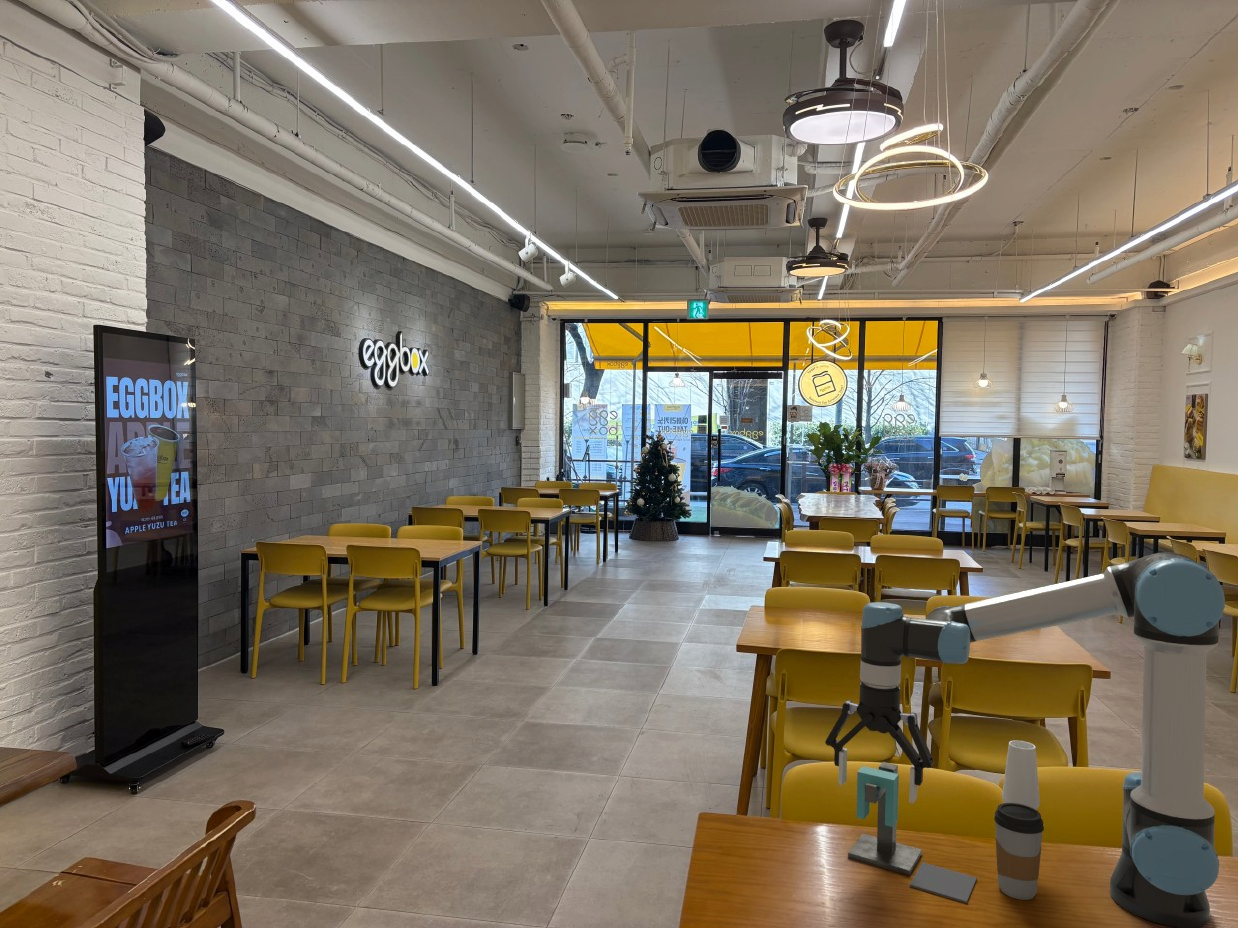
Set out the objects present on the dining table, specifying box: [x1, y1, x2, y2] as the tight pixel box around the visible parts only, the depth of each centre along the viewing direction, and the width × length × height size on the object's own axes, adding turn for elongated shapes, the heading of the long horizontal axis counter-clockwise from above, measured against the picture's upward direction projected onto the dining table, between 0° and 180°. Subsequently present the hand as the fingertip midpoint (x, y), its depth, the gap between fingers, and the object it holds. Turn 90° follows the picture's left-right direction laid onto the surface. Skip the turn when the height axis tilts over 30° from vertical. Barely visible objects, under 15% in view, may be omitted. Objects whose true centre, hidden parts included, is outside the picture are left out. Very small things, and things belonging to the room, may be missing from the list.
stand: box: [847, 761, 923, 876], centre depth 160 cm, size 12×16×18 cm
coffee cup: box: [993, 802, 1045, 901], centre depth 150 cm, size 8×8×15 cm
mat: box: [909, 862, 978, 904], centre depth 153 cm, size 10×10×1 cm
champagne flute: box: [1001, 740, 1041, 811], centre depth 160 cm, size 7×7×24 cm
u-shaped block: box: [855, 765, 900, 827], centre depth 157 cm, size 7×4×9 cm, turn 57°
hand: (876, 791), depth 157 cm, fingers open, 13 cm apart
